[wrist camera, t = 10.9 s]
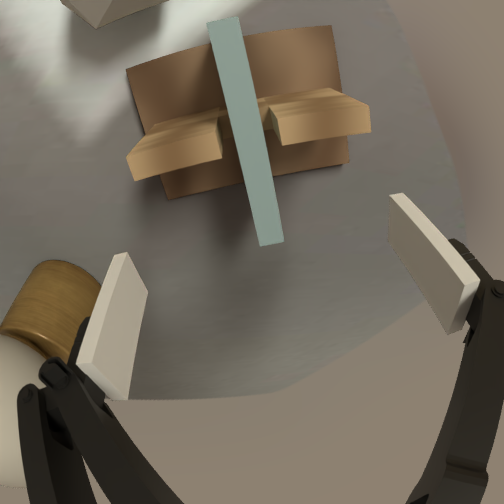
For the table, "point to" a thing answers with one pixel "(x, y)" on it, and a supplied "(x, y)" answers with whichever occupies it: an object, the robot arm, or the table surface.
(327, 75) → the walnut stand
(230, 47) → the teal rectangular panel
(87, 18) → the die
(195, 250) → the table surface
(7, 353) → the lamp
